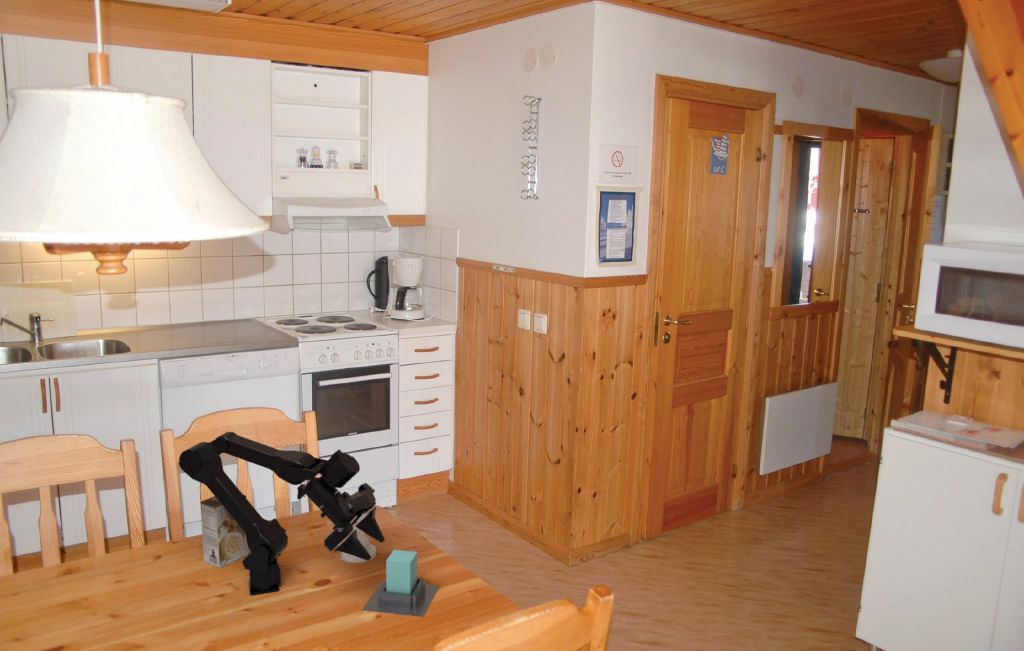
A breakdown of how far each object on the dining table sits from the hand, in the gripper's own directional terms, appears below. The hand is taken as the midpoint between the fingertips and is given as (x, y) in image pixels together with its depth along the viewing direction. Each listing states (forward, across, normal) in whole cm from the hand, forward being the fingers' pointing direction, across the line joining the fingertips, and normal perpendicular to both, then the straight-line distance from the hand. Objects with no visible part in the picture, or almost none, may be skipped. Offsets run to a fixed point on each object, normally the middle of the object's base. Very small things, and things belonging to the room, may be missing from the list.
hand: (376, 550), depth 178 cm
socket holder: (+13, 0, +4) cm, 13 cm away
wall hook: (0, +19, +17) cm, 25 cm away
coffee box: (-22, +12, +40) cm, 47 cm away
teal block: (+12, 0, +4) cm, 12 cm away
